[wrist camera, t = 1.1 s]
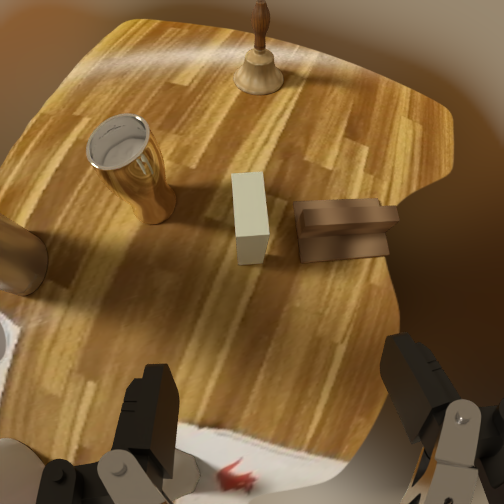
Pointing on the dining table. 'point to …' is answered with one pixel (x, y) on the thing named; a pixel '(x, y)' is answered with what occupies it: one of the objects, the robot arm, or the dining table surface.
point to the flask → (182, 476)
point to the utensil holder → (18, 473)
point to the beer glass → (132, 166)
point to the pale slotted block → (250, 217)
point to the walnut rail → (343, 229)
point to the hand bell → (259, 59)
